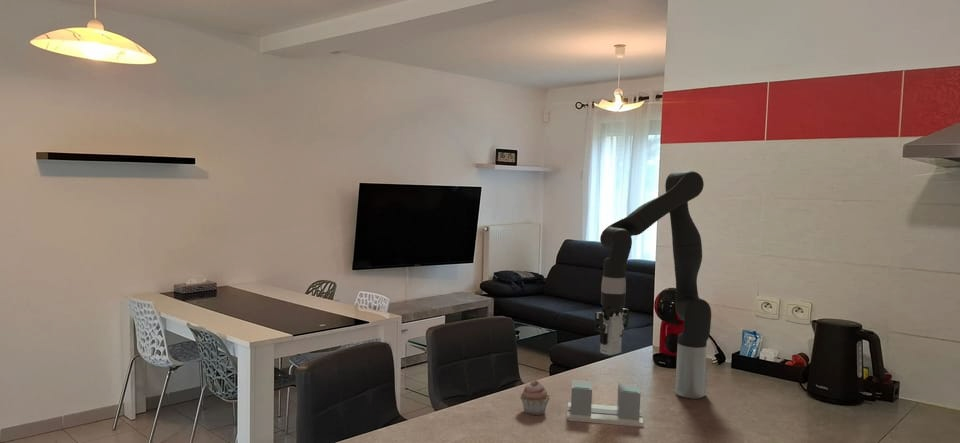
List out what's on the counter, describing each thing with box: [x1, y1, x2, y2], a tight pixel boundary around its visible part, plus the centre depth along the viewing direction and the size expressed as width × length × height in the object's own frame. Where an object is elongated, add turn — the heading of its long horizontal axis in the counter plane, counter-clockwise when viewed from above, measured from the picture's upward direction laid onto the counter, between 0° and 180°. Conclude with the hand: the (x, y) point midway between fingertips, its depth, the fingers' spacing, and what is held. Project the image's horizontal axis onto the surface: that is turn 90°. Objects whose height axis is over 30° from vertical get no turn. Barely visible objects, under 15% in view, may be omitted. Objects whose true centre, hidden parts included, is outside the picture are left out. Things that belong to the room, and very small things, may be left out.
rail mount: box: [566, 379, 644, 428], centre depth 189 cm, size 22×12×9 cm, turn 81°
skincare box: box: [599, 316, 623, 356], centre depth 198 cm, size 6×4×12 cm
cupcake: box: [519, 379, 551, 416], centre depth 191 cm, size 9×9×10 cm
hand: (610, 342), depth 199 cm, fingers closed on skincare box, 6 cm apart
